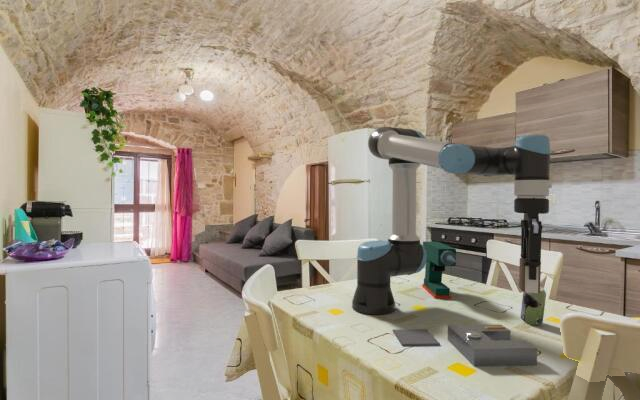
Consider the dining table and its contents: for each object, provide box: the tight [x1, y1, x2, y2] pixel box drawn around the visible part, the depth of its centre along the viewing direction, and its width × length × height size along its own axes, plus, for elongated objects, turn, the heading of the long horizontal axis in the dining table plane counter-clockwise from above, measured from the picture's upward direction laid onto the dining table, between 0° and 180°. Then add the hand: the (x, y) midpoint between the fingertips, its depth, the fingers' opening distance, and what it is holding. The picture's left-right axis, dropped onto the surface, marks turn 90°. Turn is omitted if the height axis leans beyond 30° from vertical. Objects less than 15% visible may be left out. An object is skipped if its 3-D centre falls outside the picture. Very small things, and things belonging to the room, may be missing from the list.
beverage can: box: [520, 285, 547, 326], centre depth 110 cm, size 6×7×12 cm
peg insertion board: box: [447, 324, 538, 367], centre depth 89 cm, size 15×15×5 cm
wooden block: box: [518, 257, 542, 293], centre depth 89 cm, size 4×4×8 cm
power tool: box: [421, 241, 457, 300], centre depth 140 cm, size 32×7×20 cm, turn 179°
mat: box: [392, 328, 441, 347], centre depth 98 cm, size 10×10×1 cm
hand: (529, 289), depth 89 cm, fingers closed on wooden block, 4 cm apart
